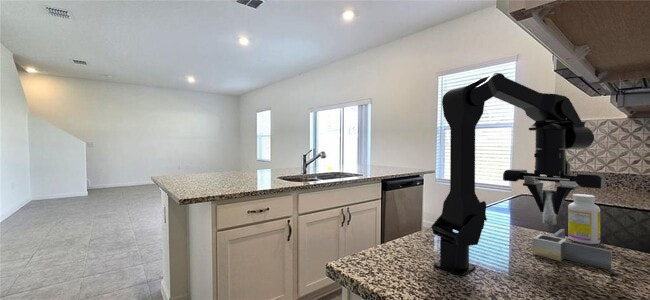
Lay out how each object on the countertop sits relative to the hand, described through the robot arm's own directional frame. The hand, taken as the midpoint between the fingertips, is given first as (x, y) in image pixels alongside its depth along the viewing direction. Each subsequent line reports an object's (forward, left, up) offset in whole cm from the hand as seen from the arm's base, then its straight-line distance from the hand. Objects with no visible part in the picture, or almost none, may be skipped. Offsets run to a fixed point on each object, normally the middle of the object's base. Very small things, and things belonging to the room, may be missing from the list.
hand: (549, 213), depth 69 cm
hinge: (+5, -4, -10) cm, 12 cm away
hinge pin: (0, 0, -3) cm, 2 cm away
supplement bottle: (+20, -3, -11) cm, 23 cm away
